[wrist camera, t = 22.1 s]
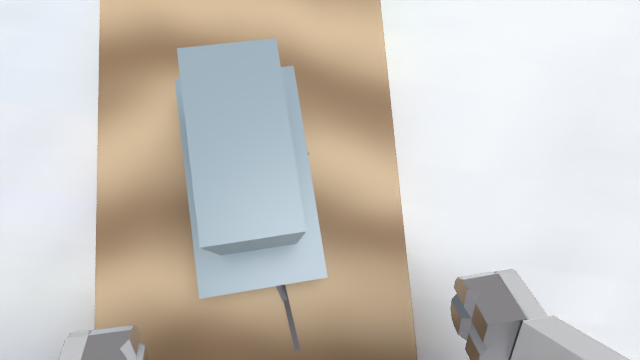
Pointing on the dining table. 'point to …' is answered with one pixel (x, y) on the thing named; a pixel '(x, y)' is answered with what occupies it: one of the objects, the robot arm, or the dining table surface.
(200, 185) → the block
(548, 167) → the dining table surface
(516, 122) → the dining table surface
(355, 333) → the oak board
